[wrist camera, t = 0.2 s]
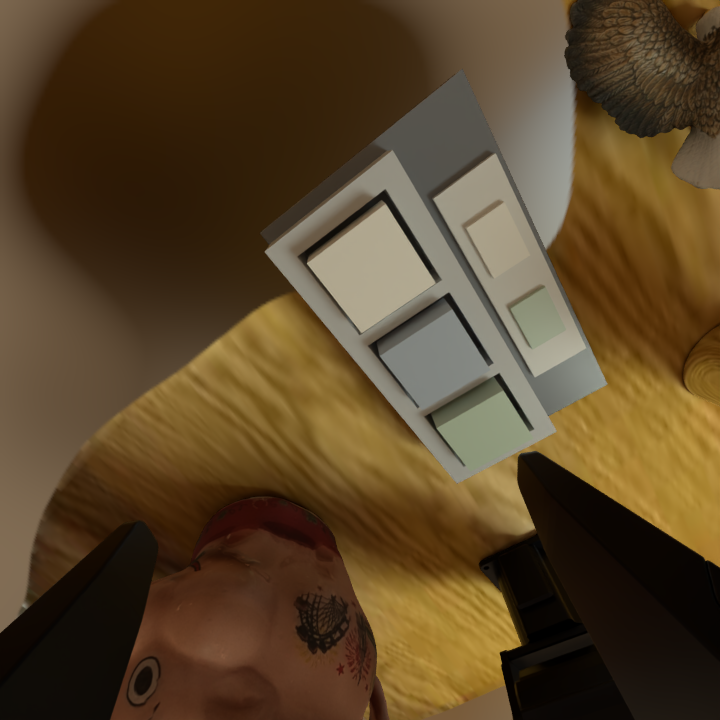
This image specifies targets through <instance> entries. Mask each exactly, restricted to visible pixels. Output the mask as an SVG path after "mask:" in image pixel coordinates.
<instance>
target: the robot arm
mask: <svg viewBox="0 0 720 720" xmlns="http://www.w3.org/2000/svg"><path fill="white" fill-rule="evenodd" d="M517 481H518V486H519V489H520V492H521V494H522V497H523V499H524V501H525V504H526V506H527V509H528V511H529V514H530V516H531V519H532V521H533V523H534V526H535V528H536V531H537V533H538V535H537V536H535V537H533V538H530V539H528V540H526V541H524V542H522V543H520V544H517V545H515V546H513V547H511V548H509V549H506V550H504V551H502V552H500V553H498V554H496V555H493V556H491V557H489V558H487V559H485V560H483V561H481V562H480V563H479V566H480V569H481V571H482V572H483V573H484V574H485V575H486V576H487V577H488V578H489V579H490V580H491V582H492V583H493V584H494V585H495V586H496V587H497V588H498V589H499V590H500V591H501V592H502V595H503V597H504V600H505V602H506V605H507V608H508V610H509V613H510V616H511V618H512V621H513V624H514V626H515V629H516V631H517V634H518V637H519V639H520V642H521V645H522V646H520V647H517V648H515V649H512V650H509V651H507V650H505V651H502V652H500V656H501V661H502V665H501V667H502V671H503V676H504V680H505V684H506V689H507V693H508V698H509V702H510V706H511V710H512V716H513V720H720V567H718V566H717V565H715V564H714V563H712V562H711V561H708V560H707V561H705V559H704V557H702V556H701V555H699V554H698V553H696V552H695V551H693V550H691V549H690V548H688V547H687V546H685V545H684V544H682V543H681V542H679V541H677V540H676V539H674V538H673V537H671V536H670V535H668V534H666V533H665V532H663V531H662V530H660V529H659V528H657V527H655V526H654V525H652V524H651V523H649V522H648V521H646V520H644V519H643V518H641V517H640V516H638V515H637V514H635V513H633V512H632V511H630V510H629V509H627V508H626V507H624V506H623V505H621V504H619V503H618V502H616V501H615V500H613V499H612V498H610V497H608V496H607V495H605V494H604V493H602V492H601V491H599V490H597V489H596V488H594V487H593V486H591V485H590V484H588V483H586V482H585V481H583V480H582V479H580V478H579V477H577V476H575V475H574V474H572V473H571V472H569V471H568V470H566V469H565V468H563V467H561V466H560V465H558V464H557V463H555V462H554V461H552V460H550V459H549V458H547V457H546V456H544V455H543V454H541V453H539V452H537V451H533V452H527V453H521V454H520V455H519V456H518V472H517ZM157 554H158V542H157V540H156V538H155V537H154V535H153V534H152V532H151V531H150V529H149V528H148V526H147V525H146V523H145V522H143V521H141V520H137V521H131V522H126V523H123V524H122V525H120V526H119V527H118V528H117V529H116V530H115V531H114V532H113V533H111V534H110V535H109V536H108V537H107V538H106V539H105V540H104V541H103V542H101V543H100V544H99V545H98V546H97V547H96V548H95V549H94V550H92V551H91V552H90V553H89V554H88V555H87V556H86V557H85V558H84V559H82V560H81V561H80V562H79V563H78V564H77V565H76V566H75V567H74V568H72V569H71V570H70V571H69V572H68V573H67V574H66V575H65V576H63V577H62V578H61V579H60V580H59V581H58V582H57V583H56V584H55V585H53V586H52V587H51V588H50V589H49V590H48V591H47V592H46V593H44V594H43V595H42V596H41V597H40V598H39V599H38V600H37V601H36V602H34V603H33V604H32V605H31V606H30V607H29V608H28V609H27V610H25V611H24V612H23V613H22V614H21V615H20V616H19V617H18V618H17V619H15V620H14V621H13V622H12V623H11V624H10V625H9V626H8V627H7V628H5V629H4V630H3V631H2V632H1V633H0V720H110V719H111V716H112V713H113V710H114V707H115V704H116V701H117V698H118V695H119V692H120V688H121V685H122V682H123V679H124V676H125V673H126V670H127V667H128V664H129V661H130V657H131V654H132V651H133V648H134V645H135V642H136V639H137V636H138V633H139V629H140V626H141V623H142V619H143V615H144V612H145V608H146V603H147V599H148V594H149V590H150V585H151V581H152V577H153V572H154V568H155V563H156V559H157Z"/></svg>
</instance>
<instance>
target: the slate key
mask: <svg viewBox="0 0 720 720" xmlns="http://www.w3.org/2000/svg"><path fill="white" fill-rule="evenodd" d="M377 346H378V351H379V355H380V357H381V358H382V360H383V361H384V362H385V363H386V365H387V366H388V367H389V369H390V370H391V371H392V372H393V374H394V375H395V376H396V377H397V379H398V380H399V381H400V383H401V384H402V385H403V386H404V388H405V389H406V390H407V391H408V393H409V394H410V395H411V397H412V398H413V399H414V400H415V402H416V403H417V404H418V405H419V407H420V408H421V409H422V410H424V409H425V408H427V407H429V406H430V405H432V404H434V403H435V402H437V401H439V400H441V399H442V398H444V397H446V396H447V395H449V394H451V393H452V392H454V391H456V390H458V389H459V388H461V387H463V386H464V385H466V384H468V383H469V382H471V381H473V380H475V379H476V378H478V377H480V376H481V375H483V374H485V373H486V372H488V371H490V368H489V367H488V365H487V364H486V362H485V360H484V359H483V357H482V356H481V354H480V353H479V351H478V349H477V348H476V346H475V345H474V343H473V341H472V340H471V338H470V337H469V335H468V334H467V332H466V330H465V329H464V327H463V326H462V324H461V322H460V321H459V319H458V318H457V316H456V314H455V313H454V311H453V310H452V308H451V307H450V306H449V304H448V303H447V302H446V300H445V299H444V298H442V299H441V300H439V301H438V302H436V303H435V304H433V305H432V306H430V307H429V308H427V309H426V310H424V311H423V312H421V313H420V314H418V315H417V316H415V317H414V318H412V319H411V320H409V321H408V322H406V323H404V324H403V325H401V326H400V327H398V328H397V329H395V330H394V331H392V332H391V333H389V334H388V335H386V336H385V337H383V338H382V339H380V340H379V341H377Z"/></svg>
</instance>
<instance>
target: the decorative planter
mask: <svg viewBox="0 0 720 720" xmlns="http://www.w3.org/2000/svg"><path fill="white" fill-rule="evenodd" d="M376 665H377V651H376V643H375V639H374V636H373V632H372V630H371V627H370V625H369V622H368V620H367V618H366V616H365V614H364V612H363V610H362V608H361V606H360V604H359V602H358V600H357V597H356V595H355V593H354V590H353V587H352V584H351V581H350V578H349V575H348V573H347V571H346V568H345V566H344V563H343V560H342V557H341V555H340V553H339V551H338V549H337V546H336V541H335V537H334V535H333V533H332V532H331V530H330V529H329V528H328V526H327V525H326V524H325V523H324V522H323V521H322V520H321V519H320V518H319V517H317V516H316V515H315V514H313V513H312V512H310V511H309V510H306V509H304V508H302V507H300V506H298V505H296V504H294V503H291V502H289V501H287V500H285V499H281V498H276V497H264V496H263V497H251V498H248V499H242V500H240V501H237V502H234V503H232V504H230V505H228V506H226V507H224V508H223V509H221V510H220V511H218V512H217V513H216V514H215V515H214V516H213V517H212V518H211V520H210V521H209V522H208V523H207V524H206V526H205V527H204V529H203V531H202V533H201V535H200V537H199V539H198V542H197V544H196V546H195V549H194V552H193V556H192V560H191V564H190V565H189V566H188V567H187V568H186V569H184V570H182V571H180V572H178V573H175V574H172V575H169V576H167V577H164V578H161V579H158V580H156V581H153V582H151V585H150V590H149V594H148V599H147V603H146V608H145V612H144V615H143V619H142V623H141V626H140V629H139V633H138V636H137V639H136V642H135V645H134V648H133V651H132V654H131V657H130V661H129V664H128V667H127V670H126V673H125V676H124V679H123V682H122V685H121V688H120V692H119V695H118V698H117V701H116V704H115V707H114V710H113V713H112V716H111V719H110V720H362V719H363V715H364V712H365V710H366V707H367V705H368V702H369V700H370V705H369V706H370V717H369V720H389V716H388V713H387V705H386V700H385V697H384V693H383V689H382V686H381V683H380V681H379V679H378V678H377V676H376Z"/></svg>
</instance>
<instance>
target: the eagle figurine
mask: <svg viewBox="0 0 720 720" xmlns="http://www.w3.org/2000/svg"><path fill="white" fill-rule="evenodd" d="M570 18H571V22H572V24H573V26H574V27H573V28H572V29H570V30H568V31H567V32H566V35H565V38H566V40H567V42H568V44H569V46H568V47H566V49H565V55H564V56H565V58H566V62H567V66H568V69H570V77H571V78H572V80H574V81H575V82H577V88H578V89H579V90H581V91H586V92H587V94H588V96H589V97H590V98H591V99H592V101H593V102H595V103H602V108H603V109H604V110H606V111H607V112H608V115H610V116H612V117H615V118H616V120H615V123H616V124H617V125H619V128H620V130H623V131H626V132H627V133H629V134H636V135H637V136H638V137H640V138H643V137H645V136H648V137H654V136H655V135H656V134H658V133H660V132H662V133H667V132H670V131H671V130H672V129H674V128H677V129H679V130H682V129H684V128H686V127H687V126H691V128H692V129H691V132H690V134H689V135H688V136H687V138H686V140H685V142H684V143H683V145H682V147H681V149H680V150H679V152H678V154H677V155H676V157H675V159H674V161H673V164H672V167H671V169H672V171H673V173H674V174H675V175H676V176H677V177H678V178H680V179H682V180H684V181H686V182H688V183H690V184H692V185H694V186H695V187H697V188H700V189H706V188H713V189H720V6H719V7H715V8H713V9H709V10H707V11H706V12H705V13H704V16H703V17H702V18H701V19H700V20H699V21H698V22H697V24H696V32H697V38H698V39H696V38H694V37H693V36H692V35H691V34H690V33H688V31H686V30H685V29H683V28H682V27H681V26H680V25H679V24H678V22H677V21H676V20H675V19H674V17H673V16H672V14H671V13H670V11H669V10H668V8H667V7H666V5H665V4H664V3H663V2H662V1H661V0H578V1H577V2H575V3H574V4H573V5H572V7H571V10H570Z"/></svg>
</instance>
